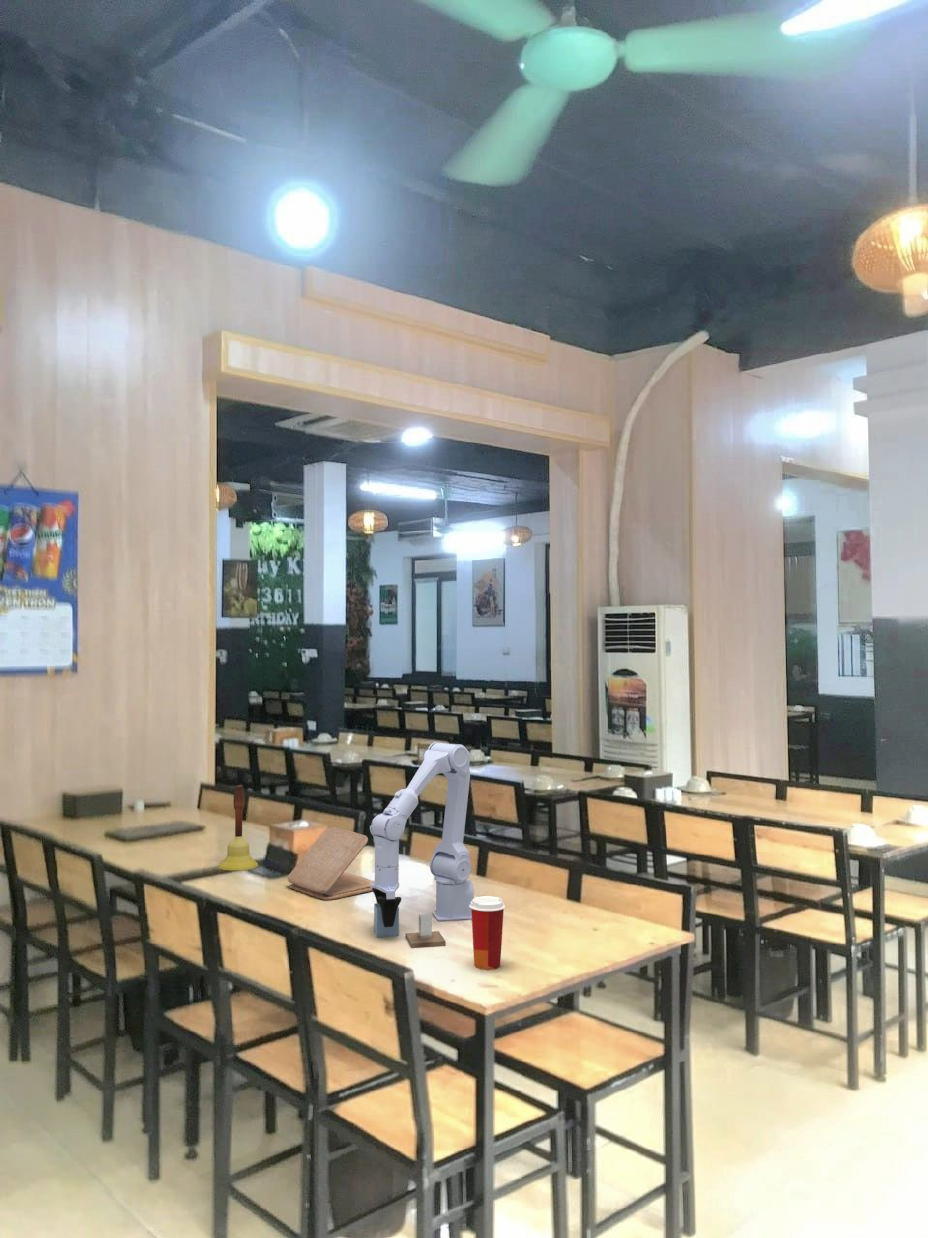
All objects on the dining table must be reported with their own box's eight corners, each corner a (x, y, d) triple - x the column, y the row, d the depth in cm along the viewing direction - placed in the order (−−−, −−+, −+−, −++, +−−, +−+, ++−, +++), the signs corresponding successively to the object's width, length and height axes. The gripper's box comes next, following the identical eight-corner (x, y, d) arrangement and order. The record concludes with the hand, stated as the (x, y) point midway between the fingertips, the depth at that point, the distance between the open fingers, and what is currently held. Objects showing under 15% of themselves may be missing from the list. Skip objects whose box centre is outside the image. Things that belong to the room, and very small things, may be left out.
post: (429, 935, 226) (429, 913, 226) (431, 938, 223) (431, 917, 223) (418, 936, 225) (418, 914, 225) (420, 939, 223) (420, 917, 223)
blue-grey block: (395, 929, 233) (395, 902, 233) (398, 936, 228) (398, 908, 228) (374, 931, 232) (374, 903, 232) (376, 937, 227) (377, 909, 227)
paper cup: (503, 959, 212) (503, 895, 212) (506, 971, 204) (506, 905, 204) (468, 959, 211) (468, 895, 212) (469, 971, 204) (469, 905, 204)
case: (284, 888, 273) (284, 832, 273) (345, 876, 287) (345, 822, 287) (323, 904, 258) (324, 844, 258) (386, 890, 272) (387, 833, 272)
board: (438, 935, 229) (438, 931, 229) (445, 945, 221) (445, 941, 221) (405, 937, 227) (405, 933, 227) (411, 948, 219) (411, 943, 219)
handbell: (216, 862, 303) (217, 783, 304) (256, 860, 307) (257, 781, 308) (218, 871, 292) (219, 788, 292) (260, 869, 295) (261, 787, 296)
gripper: (366, 859, 237) (365, 914, 236) (374, 872, 223) (373, 931, 222) (394, 858, 238) (394, 913, 238) (404, 871, 224) (403, 930, 224)
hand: (386, 922), depth 230 cm, fingers open, 7 cm apart
